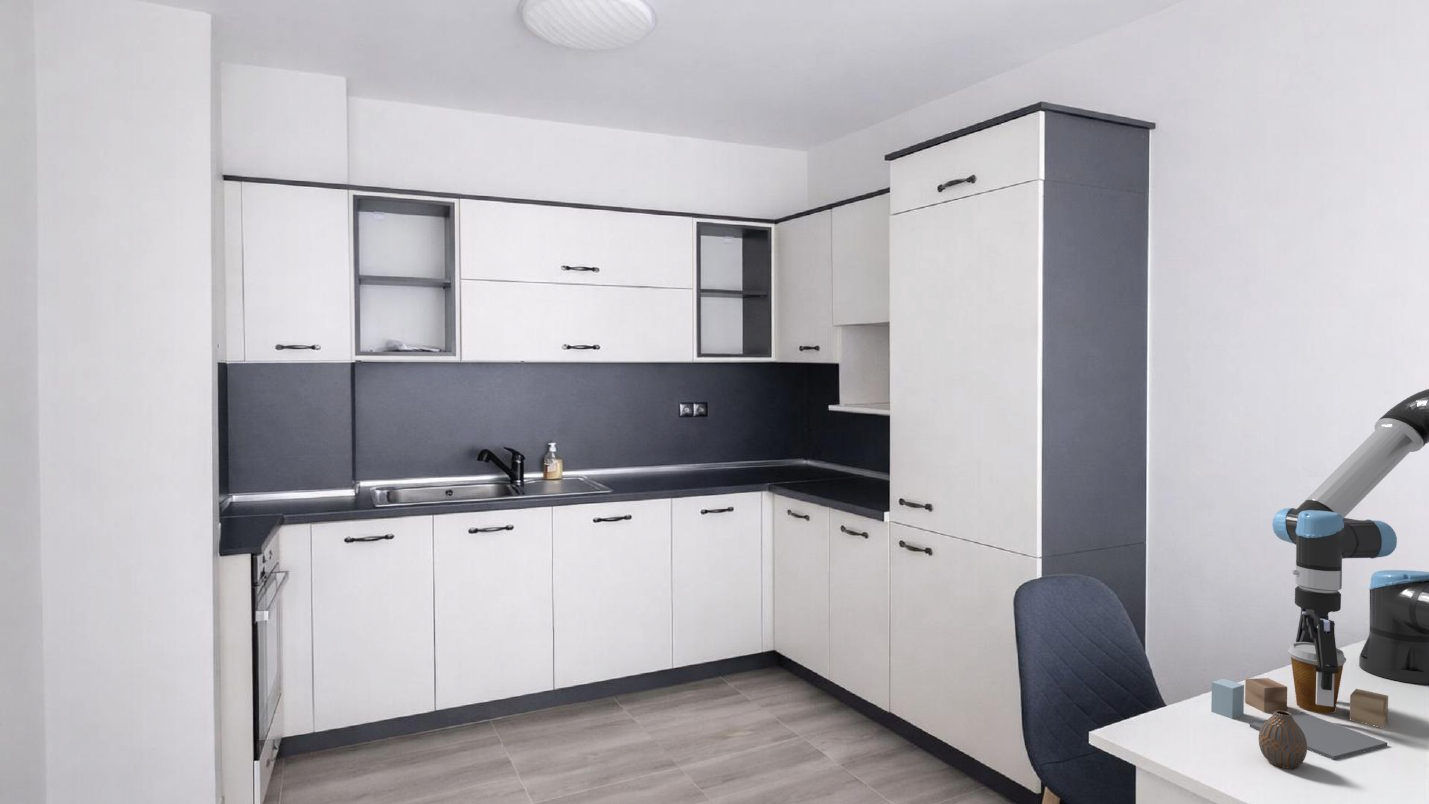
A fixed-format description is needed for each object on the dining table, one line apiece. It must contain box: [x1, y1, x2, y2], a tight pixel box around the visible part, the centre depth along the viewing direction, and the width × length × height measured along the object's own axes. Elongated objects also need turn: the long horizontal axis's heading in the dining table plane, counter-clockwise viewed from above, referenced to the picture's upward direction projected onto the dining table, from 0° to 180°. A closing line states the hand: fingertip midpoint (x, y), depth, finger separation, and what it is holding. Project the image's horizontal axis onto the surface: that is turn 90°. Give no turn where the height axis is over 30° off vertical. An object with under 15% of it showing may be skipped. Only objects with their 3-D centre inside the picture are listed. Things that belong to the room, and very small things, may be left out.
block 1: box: [1210, 678, 1245, 720], centre depth 165 cm, size 4×6×4 cm
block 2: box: [1244, 677, 1288, 713], centre depth 168 cm, size 5×5×5 cm
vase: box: [1258, 710, 1308, 769], centre depth 144 cm, size 7×7×9 cm
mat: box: [1249, 711, 1388, 761], centre depth 155 cm, size 15×15×1 cm
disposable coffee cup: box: [1287, 641, 1347, 714], centre depth 168 cm, size 10×10×12 cm
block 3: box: [1349, 688, 1389, 729], centre depth 162 cm, size 5×5×5 cm
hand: (1315, 693), depth 168 cm, fingers open, 13 cm apart
